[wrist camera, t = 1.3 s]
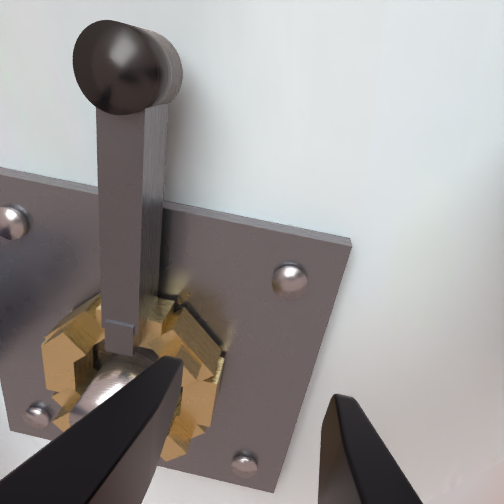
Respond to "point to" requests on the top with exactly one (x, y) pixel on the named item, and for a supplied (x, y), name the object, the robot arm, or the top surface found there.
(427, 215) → the top surface
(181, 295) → the flange plate
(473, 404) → the top surface
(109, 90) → the lever handle
